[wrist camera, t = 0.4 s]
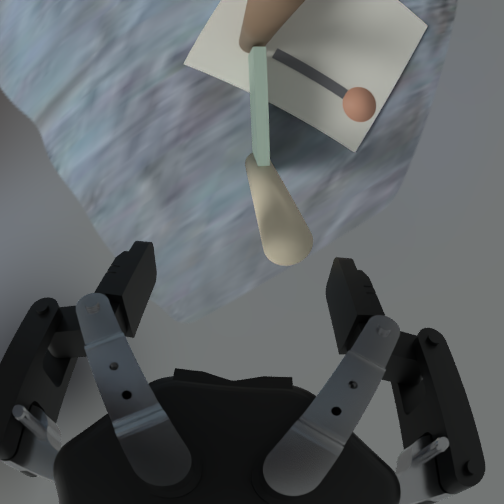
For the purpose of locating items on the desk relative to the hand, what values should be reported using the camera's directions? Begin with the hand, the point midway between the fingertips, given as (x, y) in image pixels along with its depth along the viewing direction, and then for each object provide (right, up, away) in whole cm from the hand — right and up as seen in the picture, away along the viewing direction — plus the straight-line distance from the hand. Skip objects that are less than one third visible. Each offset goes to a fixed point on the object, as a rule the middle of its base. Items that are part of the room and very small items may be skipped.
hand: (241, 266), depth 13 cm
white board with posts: (+7, +23, +11) cm, 27 cm away
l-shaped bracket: (+1, +14, +14) cm, 20 cm away
